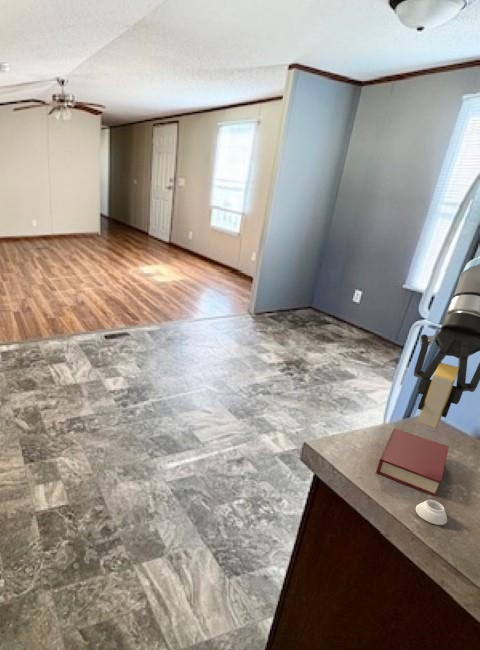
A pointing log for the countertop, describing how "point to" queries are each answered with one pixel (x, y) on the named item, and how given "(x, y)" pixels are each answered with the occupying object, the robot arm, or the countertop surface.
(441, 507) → the upside-down white bowl
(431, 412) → the small book
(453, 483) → the countertop surface
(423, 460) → the big book
